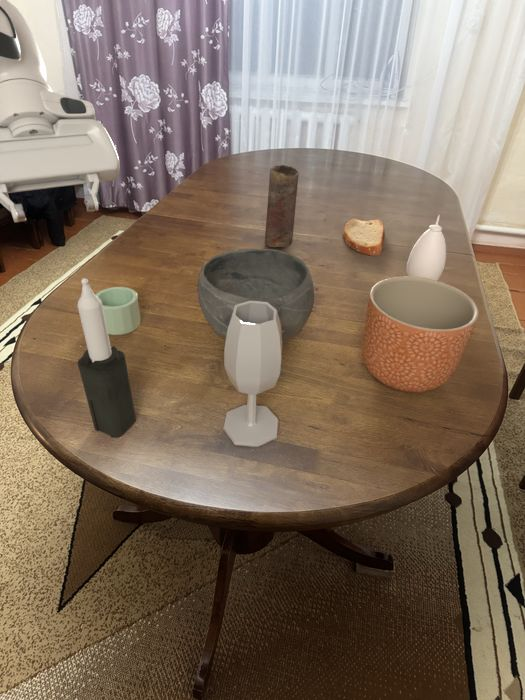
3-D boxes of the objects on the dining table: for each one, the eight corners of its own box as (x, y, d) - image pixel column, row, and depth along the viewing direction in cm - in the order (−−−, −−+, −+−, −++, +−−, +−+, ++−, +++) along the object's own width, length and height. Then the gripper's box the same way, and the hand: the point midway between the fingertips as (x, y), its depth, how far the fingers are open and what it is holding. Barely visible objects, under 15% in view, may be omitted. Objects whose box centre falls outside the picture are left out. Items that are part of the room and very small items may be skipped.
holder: (98, 337, 89) (93, 310, 86) (98, 314, 95) (92, 289, 92) (142, 331, 91) (138, 305, 88) (139, 310, 97) (135, 284, 94)
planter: (373, 335, 93) (388, 267, 84) (460, 364, 87) (487, 293, 78) (340, 382, 81) (354, 308, 72) (438, 420, 75) (467, 344, 66)
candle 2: (291, 240, 129) (297, 165, 117) (293, 251, 123) (300, 174, 111) (264, 239, 129) (267, 164, 117) (265, 250, 123) (268, 172, 111)
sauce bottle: (443, 292, 108) (466, 217, 98) (419, 300, 105) (440, 223, 94) (418, 278, 114) (437, 205, 103) (395, 285, 110) (412, 211, 100)
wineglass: (218, 411, 74) (215, 298, 62) (271, 404, 76) (278, 292, 64) (228, 453, 68) (227, 335, 55) (286, 443, 70) (297, 327, 57)
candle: (139, 418, 73) (114, 274, 58) (118, 440, 69) (86, 292, 54) (113, 407, 74) (82, 265, 59) (90, 428, 70) (52, 282, 55)
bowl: (180, 329, 92) (174, 260, 83) (264, 299, 103) (267, 235, 94) (241, 387, 79) (242, 312, 70) (330, 345, 90) (341, 276, 81)
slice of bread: (370, 258, 122) (373, 245, 119) (321, 235, 133) (323, 222, 130) (412, 242, 131) (415, 229, 129) (363, 222, 142) (366, 210, 140)
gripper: (-67, 110, 57) (-34, 216, 56) (103, 101, 65) (133, 193, 64) (-54, 141, 62) (-24, 237, 62) (101, 129, 71) (128, 213, 70)
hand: (57, 214), depth 63 cm, fingers open, 8 cm apart
